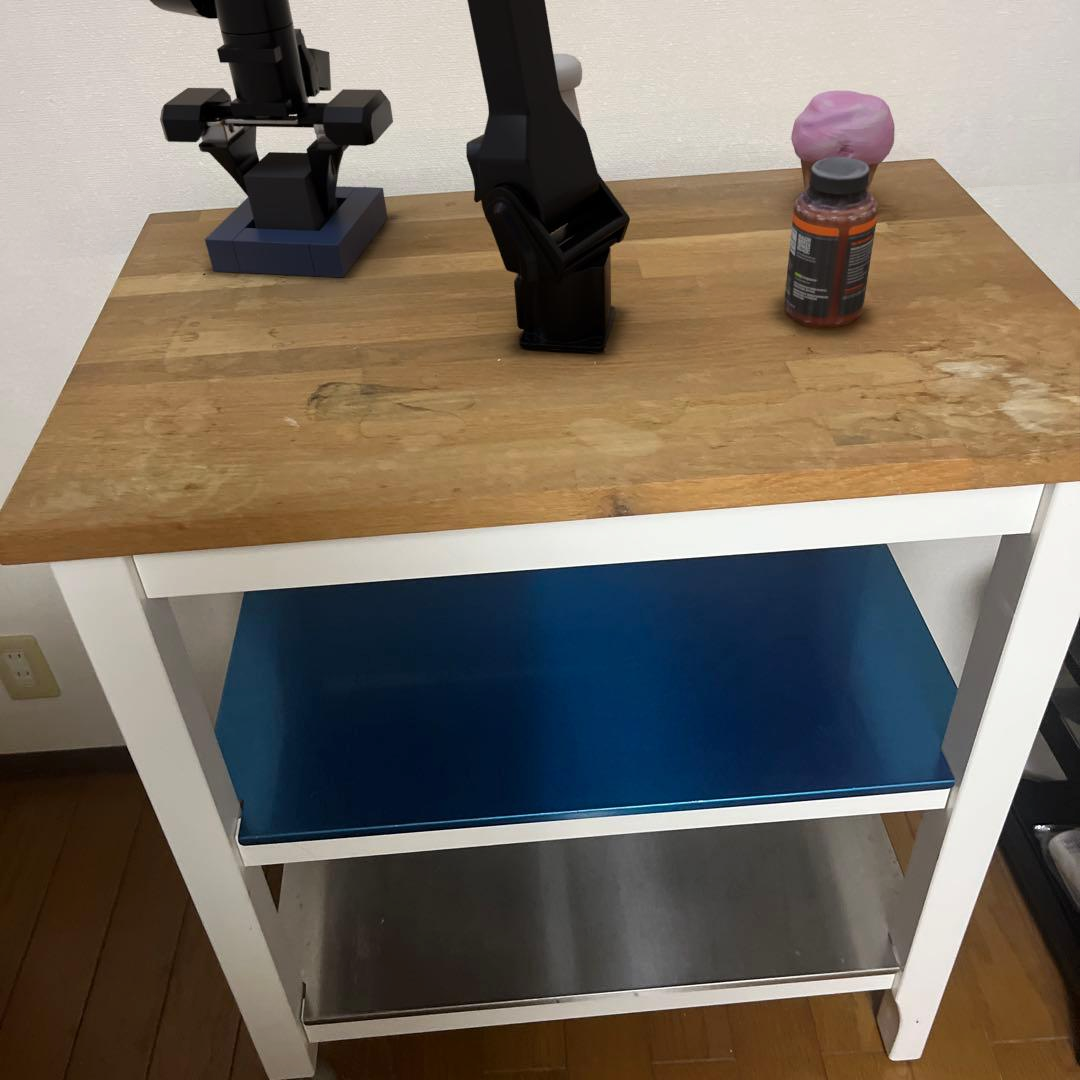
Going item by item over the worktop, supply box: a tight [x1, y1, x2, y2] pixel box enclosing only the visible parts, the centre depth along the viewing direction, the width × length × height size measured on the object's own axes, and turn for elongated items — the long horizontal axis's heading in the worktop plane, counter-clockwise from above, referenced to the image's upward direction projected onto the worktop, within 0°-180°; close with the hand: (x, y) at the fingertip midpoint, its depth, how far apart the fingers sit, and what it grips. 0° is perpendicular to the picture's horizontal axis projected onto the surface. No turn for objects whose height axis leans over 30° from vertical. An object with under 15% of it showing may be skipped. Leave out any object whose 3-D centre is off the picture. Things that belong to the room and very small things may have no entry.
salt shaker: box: [553, 53, 583, 126], centre depth 94 cm, size 6×6×13 cm
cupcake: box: [790, 90, 896, 192], centre depth 91 cm, size 9×9×10 cm
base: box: [204, 185, 389, 278], centre depth 93 cm, size 12×12×3 cm
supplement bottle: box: [783, 157, 879, 328], centre depth 76 cm, size 6×6×11 cm
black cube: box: [243, 151, 338, 231], centre depth 91 cm, size 6×6×6 cm
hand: (297, 214), depth 92 cm, fingers closed on black cube, 6 cm apart
